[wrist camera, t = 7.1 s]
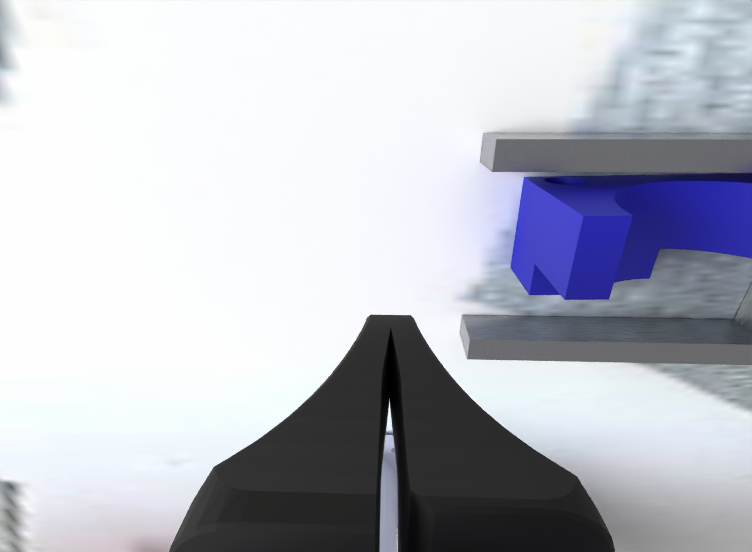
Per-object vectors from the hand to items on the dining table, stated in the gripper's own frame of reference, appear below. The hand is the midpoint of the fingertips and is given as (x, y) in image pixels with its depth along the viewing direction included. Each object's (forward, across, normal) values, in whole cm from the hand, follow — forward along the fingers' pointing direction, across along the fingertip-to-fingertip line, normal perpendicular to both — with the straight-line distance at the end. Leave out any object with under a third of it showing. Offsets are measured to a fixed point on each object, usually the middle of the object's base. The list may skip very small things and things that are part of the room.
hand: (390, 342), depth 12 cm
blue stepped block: (+8, -12, -1) cm, 15 cm away
